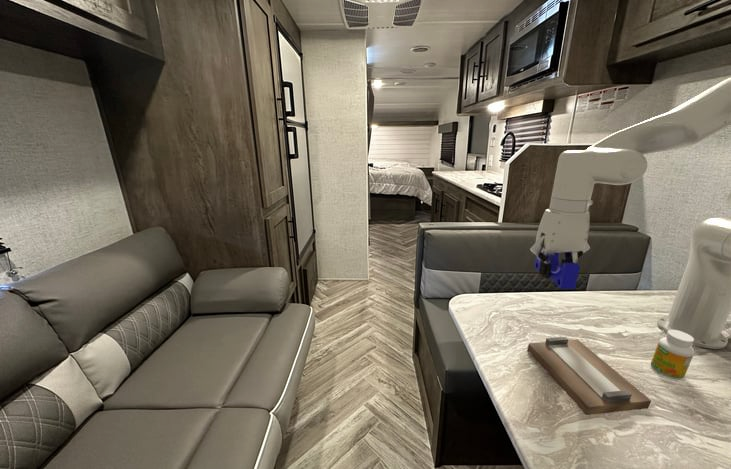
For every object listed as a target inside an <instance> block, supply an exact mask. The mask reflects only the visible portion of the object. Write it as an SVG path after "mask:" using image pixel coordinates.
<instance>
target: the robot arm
mask: <svg viewBox="0 0 731 469" xmlns="http://www.w3.org/2000/svg"><path fill="white" fill-rule="evenodd" d="M730 125H731V77H729V78H727V79H725V80H722V81H721V82H719V83H717V84H715V85H714V86H712V87H710V88H708V89H707V90H705V91H703V92H702V93H700V94H698V95H696V96H694V97H693V98H691V99H689V100H688V101H685V102H684V103H682V104H680V105H679V106H677V107H675V108H673V109H671V110H670V111H668V112H665V113H662V114H660V115H658V116H654V117H651V118H650V119H647V120H644V121H642V122H640V123H636V124H634V125H632V126H630V127H629V126H628V127H626V128H624V129H622V130H619V131H617V132H614V133H612V134H610V135H609V136H608V135H607V136H606V137H605V138H603V139H601V140H600V141H597V142H596V143H594V144H592V145H591V146H589V147H587V149H584V150H583V149H572V150H570V149H569V150H565V151H563V152H561V153H560V154H559V156H558V159H557V160H558V161H557V165H556V170H555V176H554V181H553V185H552V191H551V197H550V202H549V208H547V209H545V210H544V212H543V213H542V217H541V219H540V222H539V226H538V229H537V233H536V237H535V243H534V244H533V245H532V246H531V247H530V249H529V250H530V251H531V252H532V254H534V255H535V256H536V257H538V258H539V260H541V262H540V267H539V271H538V275H540V276H541V277H543V278H544V279H551V278H550V273H551V268H552V264H550V262H551V260H552V258H553V256H554V254H555V253H558V254H559V253H564V257H562V259H561V262H560V263H561V264H560V267H561V266H562V263H577V262H578V259H579V258H580V257H582V256H583V254H585V253H586V252H587V251H589V250H590V249H591V247H590V244H589V242H588V237H589V231H590V220H591V219H590V211H589V208H590V206H592V205H593V204H594V202H593V200H592V199H591V198H592V194H593V191H594V188H595V184H605V185H613V186H623V185H628V184H629V185H630V184H632V183H635V182H637V181H638V180H639V179H641V178H642V177H643V175H645V174H646V171H647V169H648V161H647V159H646V157H645V156H644V155H648V154H654V153H660V152H667V151H673V150H674V151H675V150H678V149H682V148H686V147H690V146H693V145H695V144H698V143H699V142H701V141H703V140H705V139H707V138H709V137H710V136H712V135H714V134H716V133H718V132H720V131H721V130H724V129H725V128H727V127H729V126H730ZM725 201H726V205H727V207H728V208H729V209H731V190H730V191H729V193H728V194H727V196H726V200H725ZM541 248H542V249H541ZM547 253H548V254H547ZM546 254H547V256H546ZM674 296H675V297H674V300H673V302H672V305H671V308H670V310H669V313H668V315H664V316H660V317H658V319H657V326H658V327H659V328H660V330H662V331H663V332H664V333H665V334H667V332H668V330H678V331H681V332H684V333H686V334H688V335H690V336H692V337H693V338H694V342H693V345H692V346H695V347H699V348H700V347H701V348H706V349H713V350H718V349H719V350H720V349H724V348H726V347H727V345H728V343H729V341H728V339H727V338H726V336H725V335H724V334H723V331H724V330H727V329H728V330H729V329H730V330H731V320H728V318H729V316H730V314H731V217H729V216H728V217H727V216H717V217H710V218H708V219H705V220H703V221H701V222H700V223H698V224H697V225H696V227H695V228H694V229H693V231H692V233H691V237H690V252H689V256H688V262H687V264H686V268H685V270H684V272H683V276H682V278H681V280H680V284H679V285H678V289H677V291H676V293H675V295H674Z"/></svg>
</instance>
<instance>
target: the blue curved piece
mask: <svg viewBox="0 0 731 469" xmlns="http://www.w3.org/2000/svg"><path fill="white" fill-rule="evenodd" d="M547 254H548V253H547ZM547 254H546V256H547ZM534 261H535V262H534V266H533V267H534V268H535V270H536V271H537V272H539V267H540V262H541V260H539V258H538V257H537V256H536V257H535V260H534ZM550 264H552V268H551V273H550V278H549V279H551V280H552V282H554V283H555V285H557V287H558V288H559V289H562V290H575V289H576V286H577V285H576V284H577V281H578V276H579V272H580V268H581V265H580V264H579V263H577V262H576V263H562V266H561V264H560V262H559V253H555V254H554V256H553V258H552V260H551V262H550Z"/></svg>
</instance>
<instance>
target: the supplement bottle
mask: <svg viewBox="0 0 731 469" xmlns="http://www.w3.org/2000/svg"><path fill="white" fill-rule="evenodd" d="M693 342H694V338H693V337H692V336H690V335H688V334H686V333H684V332H681V331H678V330H668V332H667V333H665V336H664V337H662V338H660V339H659V341H658V343H657V346H656V348H655V351H654V354H653V355H652V358H651V361H650V367H651V368H652V370H653V371H654V372H655V373H657V374H658V375H660V376H663V377H664V378H667V379H670V380H675V381H681V380H684V378H685V377H686V374H687V371H688V369H689V367H690V364H691V362H692V360H693V357H694V355H695V350H694V348H693V346H694V345H693Z"/></svg>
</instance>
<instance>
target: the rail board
mask: <svg viewBox="0 0 731 469" xmlns="http://www.w3.org/2000/svg"><path fill="white" fill-rule="evenodd" d="M527 351H528V352H529V353H530V355H531V356H532V357H533V358H534V359H535V361H536V362H538V363H539V365H540V366H541V367H542V368H543V369H544V370H545V371H546V372H547V373H548V374H549V375H550V377H551V378H552V379H553V380H554V381H555V382H556V384H557V385H558V386H559V387H560V388H561V389H562V390H563V391H564V392H565V394H567V395H568V397H569V398H570V399H571V400H572V401H573V402H574V403H575V404H576V406H577V407H578V408H579V409H580V410H581V411H582V412H583V413H584V414H585V415H586V416H590V415H591V416H593V415H600V414H609V413H616V412H617V413H619V412H628V411H629V412H630V411H638V410H646V409H649V407H650V405H651V402H652V400H651V399H650V398H649V397H647V396H646V395H645V394H644V393H643V392H642V391H640V390H639V389H638V388H637V387H636V386H634V385H633V384H632V383H631V382H629V381H628V380H627V379H626V378H625V377H624V376H622V375H621V374H620V373H618V372H617V371H616V370H615V369H614V368H613V367H611V365H609V364H608V363H607V362H605V361H604V360H603V359H602V358H601V357H599V355H597V354H596V353H595V352H593V351H592V350H591V349H590V348H588V347H587V346H586V345H585V344H584V343H582V341H581V340H579V339H578V338H577V339H568V338H567V337H566V336H559V337H548V338H546V339H545V341H541V342H529V343H528V346H527Z"/></svg>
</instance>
